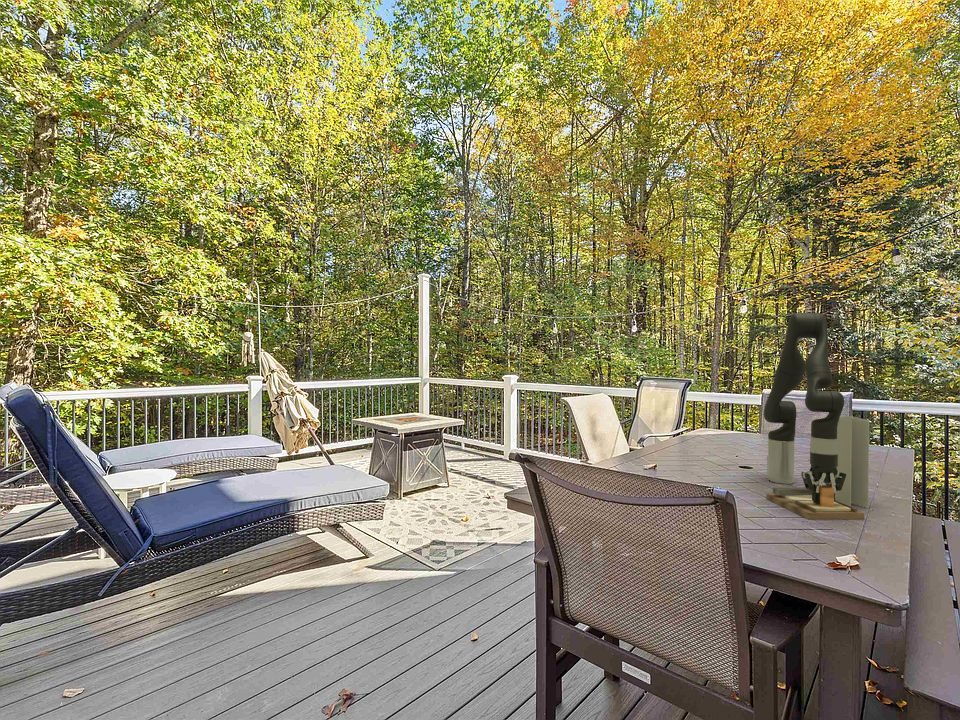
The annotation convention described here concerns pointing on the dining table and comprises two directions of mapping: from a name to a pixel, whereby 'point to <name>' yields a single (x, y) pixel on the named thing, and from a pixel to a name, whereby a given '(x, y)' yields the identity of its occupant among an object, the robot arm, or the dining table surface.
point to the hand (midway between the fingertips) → (823, 503)
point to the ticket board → (793, 495)
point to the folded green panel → (853, 460)
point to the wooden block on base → (826, 501)
